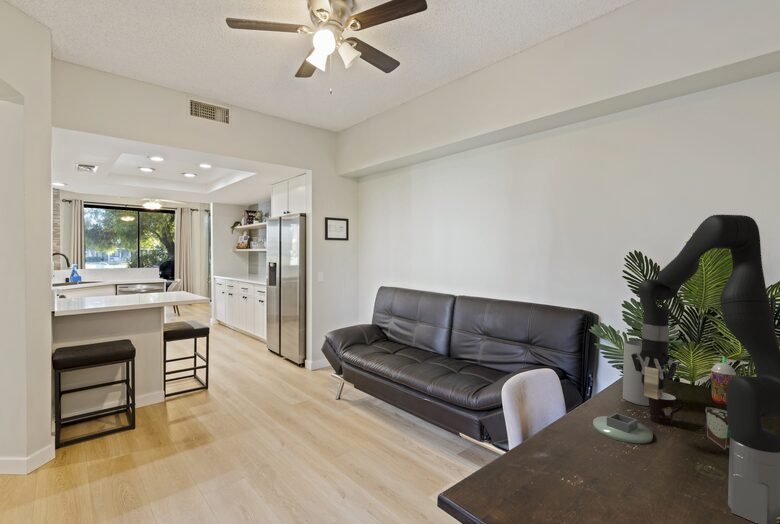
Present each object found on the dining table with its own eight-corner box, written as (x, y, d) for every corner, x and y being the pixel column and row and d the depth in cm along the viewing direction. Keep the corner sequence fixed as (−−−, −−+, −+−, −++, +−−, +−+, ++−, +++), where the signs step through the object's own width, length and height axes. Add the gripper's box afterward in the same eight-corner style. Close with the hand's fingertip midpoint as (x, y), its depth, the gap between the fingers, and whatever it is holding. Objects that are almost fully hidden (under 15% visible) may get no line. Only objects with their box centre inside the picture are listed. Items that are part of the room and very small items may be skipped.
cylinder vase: (627, 404, 158) (629, 345, 158) (618, 394, 170) (620, 339, 170) (661, 408, 155) (663, 348, 154) (650, 397, 166) (652, 341, 166)
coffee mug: (648, 423, 140) (649, 396, 140) (645, 414, 147) (646, 389, 147) (687, 430, 134) (688, 403, 134) (682, 421, 142) (682, 395, 142)
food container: (751, 454, 118) (752, 423, 118) (728, 452, 120) (729, 421, 119) (724, 436, 130) (725, 408, 130) (704, 434, 132) (705, 406, 132)
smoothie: (705, 400, 164) (706, 355, 164) (715, 397, 167) (717, 353, 167) (729, 407, 156) (730, 360, 156) (739, 404, 160) (740, 358, 160)
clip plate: (639, 448, 121) (639, 435, 121) (583, 427, 135) (583, 415, 135) (661, 434, 131) (661, 421, 131) (607, 416, 146) (607, 404, 146)
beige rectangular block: (657, 399, 125) (658, 370, 125) (643, 395, 128) (644, 366, 128) (662, 397, 127) (663, 368, 127) (648, 393, 131) (650, 365, 130)
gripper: (627, 334, 131) (625, 382, 132) (675, 343, 119) (673, 396, 120) (637, 332, 135) (635, 379, 136) (684, 340, 123) (682, 391, 124)
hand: (653, 386), depth 128 cm, fingers closed on beige rectangular block, 4 cm apart
